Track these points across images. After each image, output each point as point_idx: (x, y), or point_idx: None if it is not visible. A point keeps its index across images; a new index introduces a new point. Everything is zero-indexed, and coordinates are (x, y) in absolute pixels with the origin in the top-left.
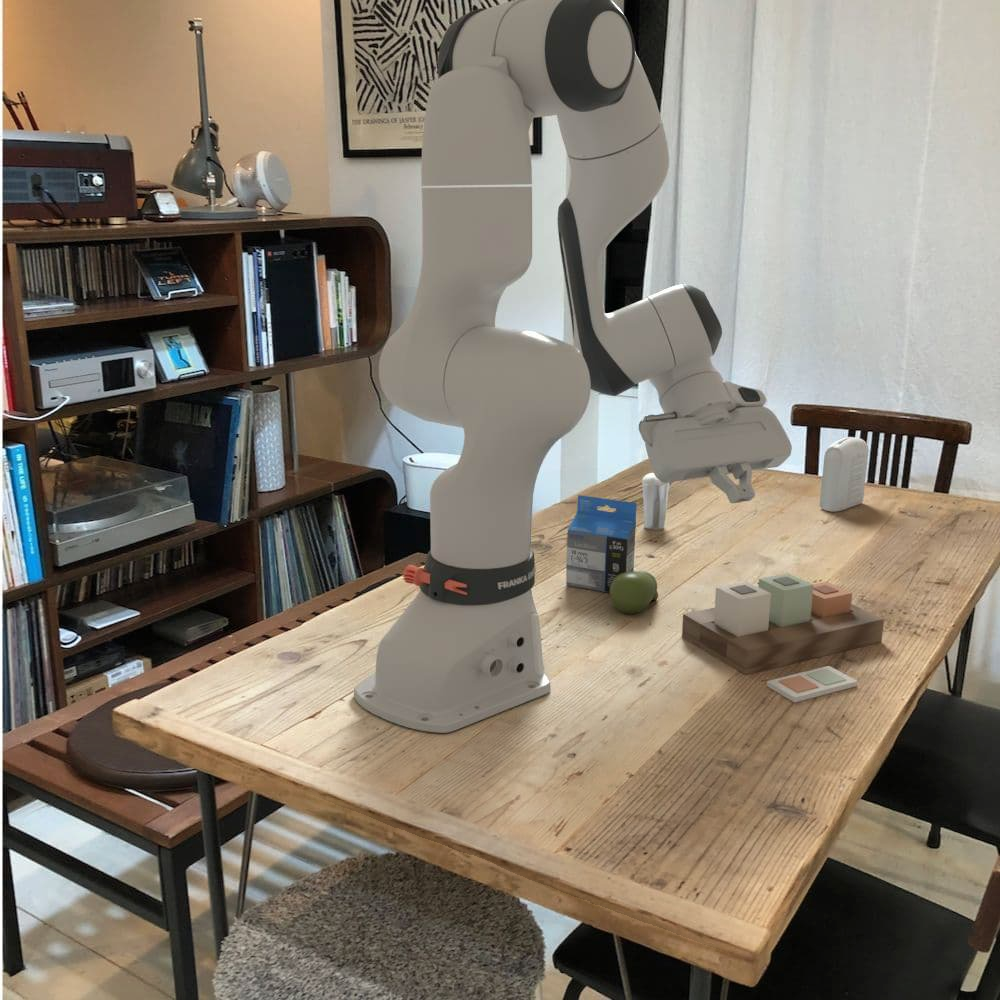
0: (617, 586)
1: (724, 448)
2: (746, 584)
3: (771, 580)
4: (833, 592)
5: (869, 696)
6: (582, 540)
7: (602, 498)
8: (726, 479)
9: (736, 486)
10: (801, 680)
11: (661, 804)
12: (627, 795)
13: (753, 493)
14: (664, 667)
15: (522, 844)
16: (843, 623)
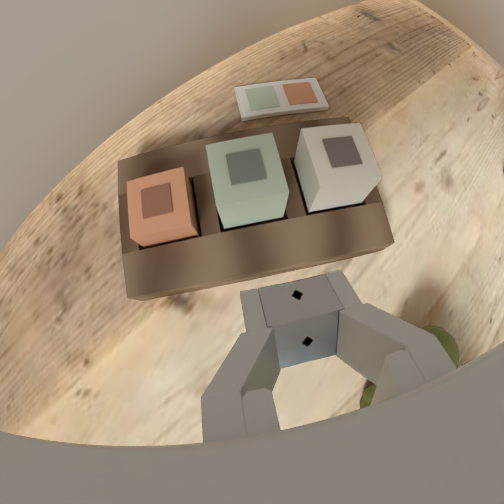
0: (457, 346)
1: (444, 490)
2: (326, 172)
3: (269, 178)
4: (151, 188)
5: (236, 76)
6: None
7: None
8: (396, 322)
9: (339, 302)
10: (293, 96)
11: (433, 42)
12: (449, 54)
13: (249, 290)
14: (419, 177)
15: (484, 55)
16: (177, 154)
